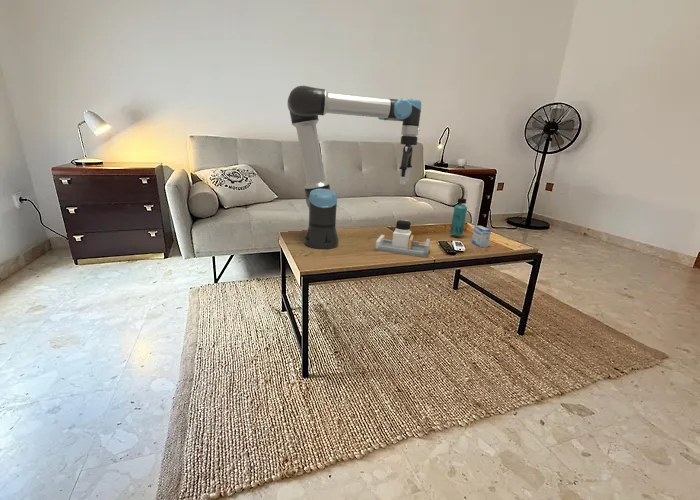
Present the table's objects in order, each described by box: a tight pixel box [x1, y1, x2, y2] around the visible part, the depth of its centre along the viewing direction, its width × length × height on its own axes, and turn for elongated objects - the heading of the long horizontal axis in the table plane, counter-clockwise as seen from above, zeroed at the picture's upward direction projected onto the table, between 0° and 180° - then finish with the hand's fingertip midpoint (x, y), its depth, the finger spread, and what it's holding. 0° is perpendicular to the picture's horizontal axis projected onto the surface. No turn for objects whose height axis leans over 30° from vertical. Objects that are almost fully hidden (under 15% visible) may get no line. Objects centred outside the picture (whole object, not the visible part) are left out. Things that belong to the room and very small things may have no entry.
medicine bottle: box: [391, 219, 412, 249], centre depth 150 cm, size 7×7×12 cm
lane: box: [375, 234, 431, 258], centre depth 151 cm, size 22×12×5 cm, turn 74°
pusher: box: [408, 234, 420, 250], centre depth 150 cm, size 4×8×5 cm, turn 164°
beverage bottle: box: [449, 197, 468, 237], centre depth 176 cm, size 6×7×20 cm
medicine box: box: [471, 225, 492, 248], centre depth 166 cm, size 8×4×9 cm, turn 12°
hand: (404, 182), depth 165 cm, fingers open, 13 cm apart
